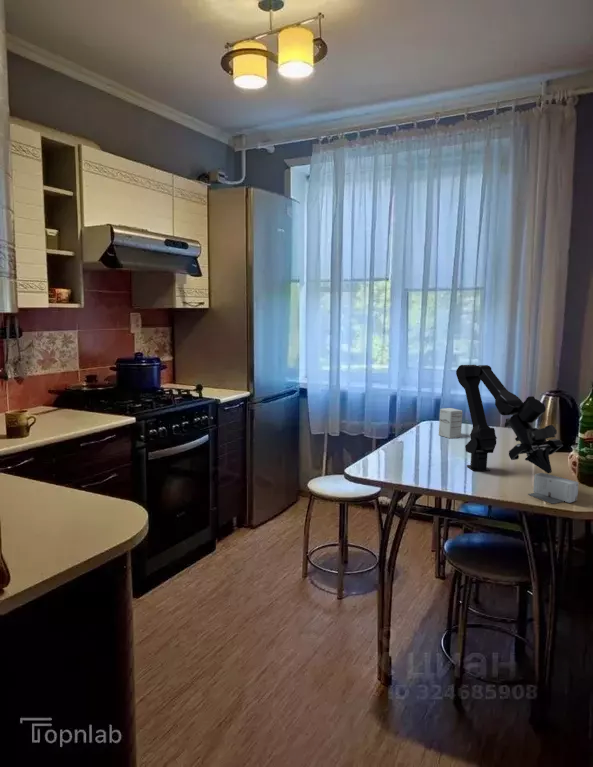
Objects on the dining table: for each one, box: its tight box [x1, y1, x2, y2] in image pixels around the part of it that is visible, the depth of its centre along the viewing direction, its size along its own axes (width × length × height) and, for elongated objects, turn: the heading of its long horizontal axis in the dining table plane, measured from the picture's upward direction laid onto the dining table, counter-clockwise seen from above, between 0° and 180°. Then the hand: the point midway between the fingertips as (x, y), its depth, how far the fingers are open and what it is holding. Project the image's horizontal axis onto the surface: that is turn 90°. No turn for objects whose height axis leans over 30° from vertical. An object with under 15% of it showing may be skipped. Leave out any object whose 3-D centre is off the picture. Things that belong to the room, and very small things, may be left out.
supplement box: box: [438, 407, 463, 439], centre depth 257 cm, size 7×7×13 cm
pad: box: [527, 492, 564, 505], centre depth 174 cm, size 9×8×1 cm
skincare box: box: [532, 472, 579, 504], centre depth 173 cm, size 6×4×12 cm
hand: (550, 472), depth 174 cm, fingers closed
